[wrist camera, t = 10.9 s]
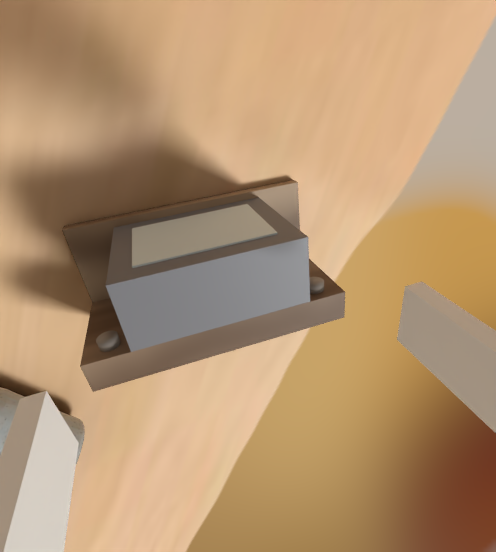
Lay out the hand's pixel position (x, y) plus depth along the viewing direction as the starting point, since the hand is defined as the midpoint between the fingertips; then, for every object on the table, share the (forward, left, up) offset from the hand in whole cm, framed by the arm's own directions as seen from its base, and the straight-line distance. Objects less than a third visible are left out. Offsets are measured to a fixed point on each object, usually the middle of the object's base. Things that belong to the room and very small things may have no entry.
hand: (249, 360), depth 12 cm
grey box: (0, 0, -14) cm, 14 cm away
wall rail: (+2, 0, -14) cm, 14 cm away
